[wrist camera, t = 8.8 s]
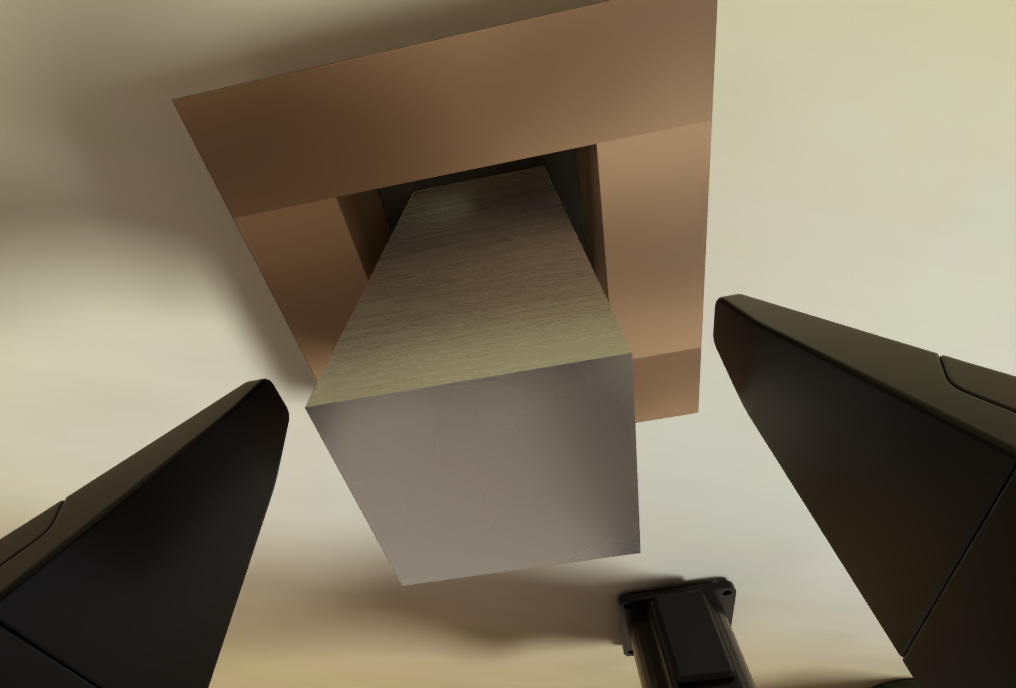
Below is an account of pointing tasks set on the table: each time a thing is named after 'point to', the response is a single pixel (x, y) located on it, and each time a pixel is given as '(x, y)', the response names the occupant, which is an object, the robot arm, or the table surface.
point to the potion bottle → (900, 684)
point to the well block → (487, 164)
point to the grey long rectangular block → (484, 390)
